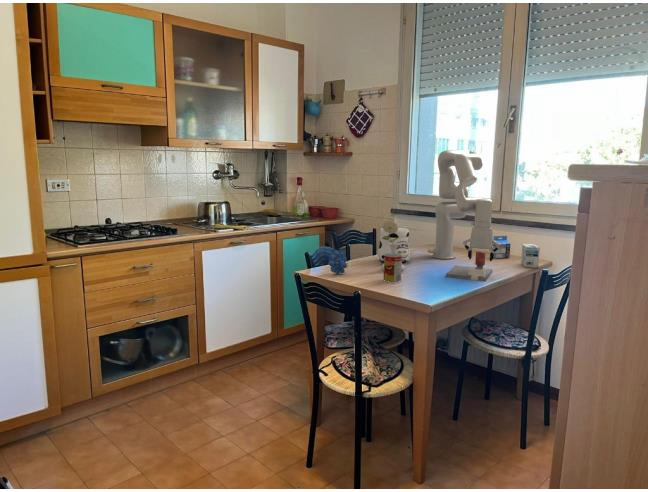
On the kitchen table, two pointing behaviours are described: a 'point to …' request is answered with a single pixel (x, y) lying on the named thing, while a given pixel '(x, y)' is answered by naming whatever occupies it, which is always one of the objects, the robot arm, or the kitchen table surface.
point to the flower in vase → (390, 228)
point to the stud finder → (477, 271)
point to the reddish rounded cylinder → (480, 259)
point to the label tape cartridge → (502, 247)
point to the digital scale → (466, 273)
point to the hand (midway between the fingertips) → (480, 259)
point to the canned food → (392, 267)
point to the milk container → (402, 240)
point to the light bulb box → (530, 255)
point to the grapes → (338, 262)
